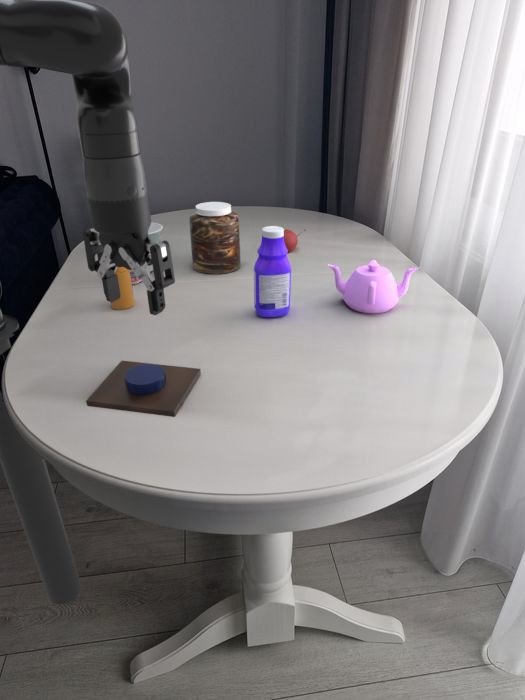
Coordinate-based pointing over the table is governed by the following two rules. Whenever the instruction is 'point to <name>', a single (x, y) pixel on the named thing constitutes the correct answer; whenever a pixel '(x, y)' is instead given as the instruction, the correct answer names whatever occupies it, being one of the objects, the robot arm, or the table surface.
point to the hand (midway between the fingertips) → (135, 306)
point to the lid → (145, 379)
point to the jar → (215, 238)
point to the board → (158, 403)
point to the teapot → (371, 288)
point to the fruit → (290, 240)
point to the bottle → (272, 274)
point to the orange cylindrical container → (124, 290)
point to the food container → (155, 232)
